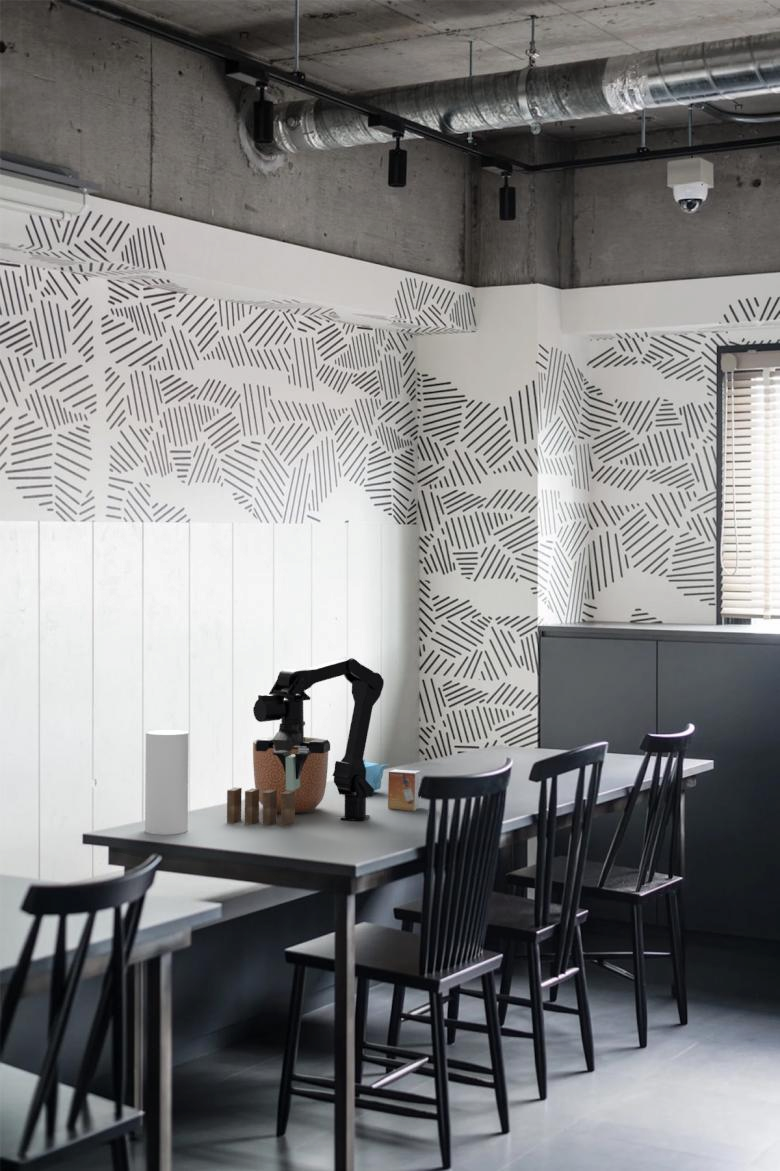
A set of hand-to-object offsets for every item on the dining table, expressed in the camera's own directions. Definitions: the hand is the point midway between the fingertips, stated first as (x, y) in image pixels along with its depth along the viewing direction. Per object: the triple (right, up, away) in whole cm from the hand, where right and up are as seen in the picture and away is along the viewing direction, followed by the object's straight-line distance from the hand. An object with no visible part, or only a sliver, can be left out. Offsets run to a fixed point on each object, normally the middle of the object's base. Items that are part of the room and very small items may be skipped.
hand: (293, 778), depth 369 cm
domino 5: (-2, -13, +4) cm, 13 cm away
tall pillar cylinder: (-32, -13, -6) cm, 35 cm away
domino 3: (-7, -12, +5) cm, 15 cm away
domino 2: (-11, -12, +7) cm, 18 cm away
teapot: (+17, -12, +57) cm, 60 cm away
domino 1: (-16, -12, +8) cm, 22 cm away
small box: (+29, -13, +30) cm, 44 cm away
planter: (-3, -12, +26) cm, 29 cm away
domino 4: (0, -3, 0) cm, 3 cm away
